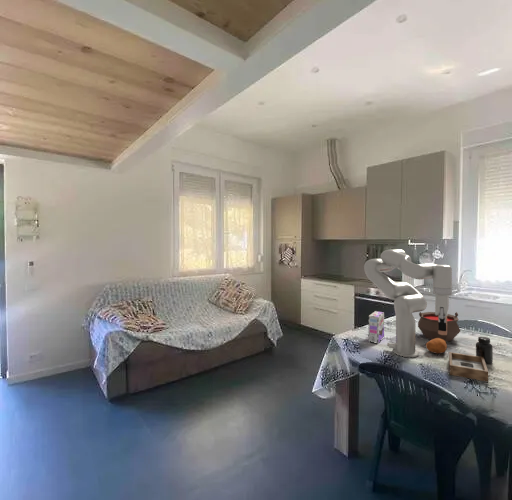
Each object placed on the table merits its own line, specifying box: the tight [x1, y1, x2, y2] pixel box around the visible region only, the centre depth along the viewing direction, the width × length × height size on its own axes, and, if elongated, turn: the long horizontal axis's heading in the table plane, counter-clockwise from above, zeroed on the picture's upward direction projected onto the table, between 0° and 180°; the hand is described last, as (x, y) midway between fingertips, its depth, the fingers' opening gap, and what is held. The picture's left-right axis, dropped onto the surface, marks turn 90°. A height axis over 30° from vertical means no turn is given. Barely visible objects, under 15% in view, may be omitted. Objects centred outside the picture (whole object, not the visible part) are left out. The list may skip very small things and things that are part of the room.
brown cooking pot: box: [417, 311, 461, 343], centre depth 187 cm, size 24×24×16 cm
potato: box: [425, 338, 448, 354], centre depth 165 cm, size 9×11×8 cm
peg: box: [438, 314, 447, 335], centre depth 143 cm, size 4×4×11 cm
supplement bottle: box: [475, 336, 494, 365], centre depth 152 cm, size 7×7×12 cm
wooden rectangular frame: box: [448, 351, 489, 382], centre depth 143 cm, size 14×18×4 cm
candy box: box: [367, 310, 385, 344], centre depth 186 cm, size 14×6×16 cm, turn 143°
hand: (442, 329), depth 144 cm, fingers closed on peg, 3 cm apart
